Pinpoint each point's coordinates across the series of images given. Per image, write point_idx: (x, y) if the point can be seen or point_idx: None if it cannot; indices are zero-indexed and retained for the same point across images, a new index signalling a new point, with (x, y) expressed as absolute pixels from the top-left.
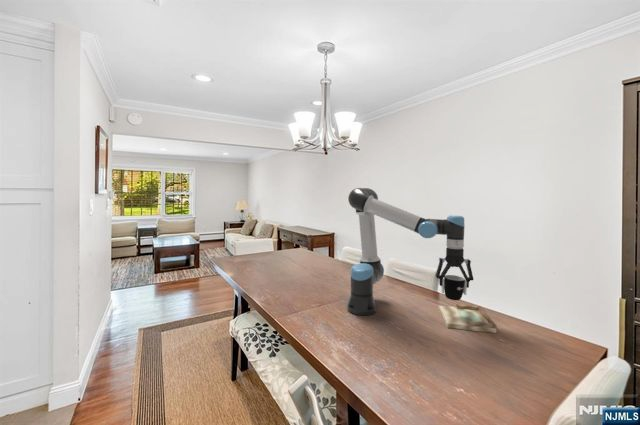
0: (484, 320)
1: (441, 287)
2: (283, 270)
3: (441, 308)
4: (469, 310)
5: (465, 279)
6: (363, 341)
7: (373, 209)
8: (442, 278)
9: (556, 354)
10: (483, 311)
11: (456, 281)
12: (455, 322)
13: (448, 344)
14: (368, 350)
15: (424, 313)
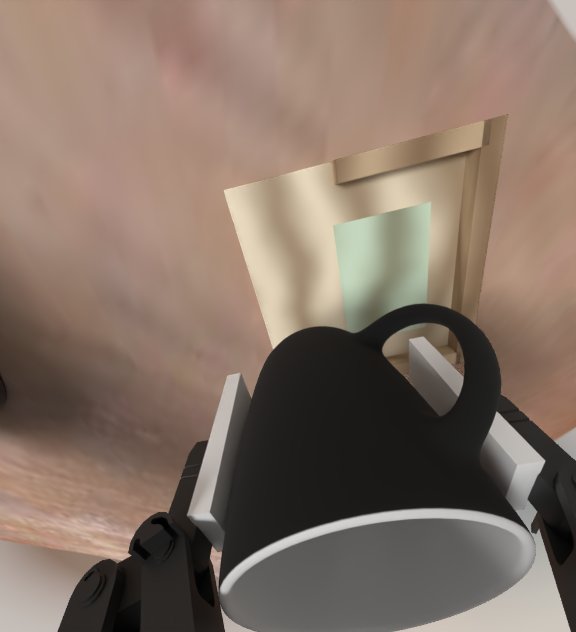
0: (442, 297)
1: (220, 404)
2: None
3: (246, 239)
4: (405, 189)
5: (552, 493)
6: (111, 505)
7: None
8: (207, 578)
9: (560, 393)
10: (483, 219)
11: (375, 612)
12: None
13: None
14: (141, 519)
15: (177, 291)
